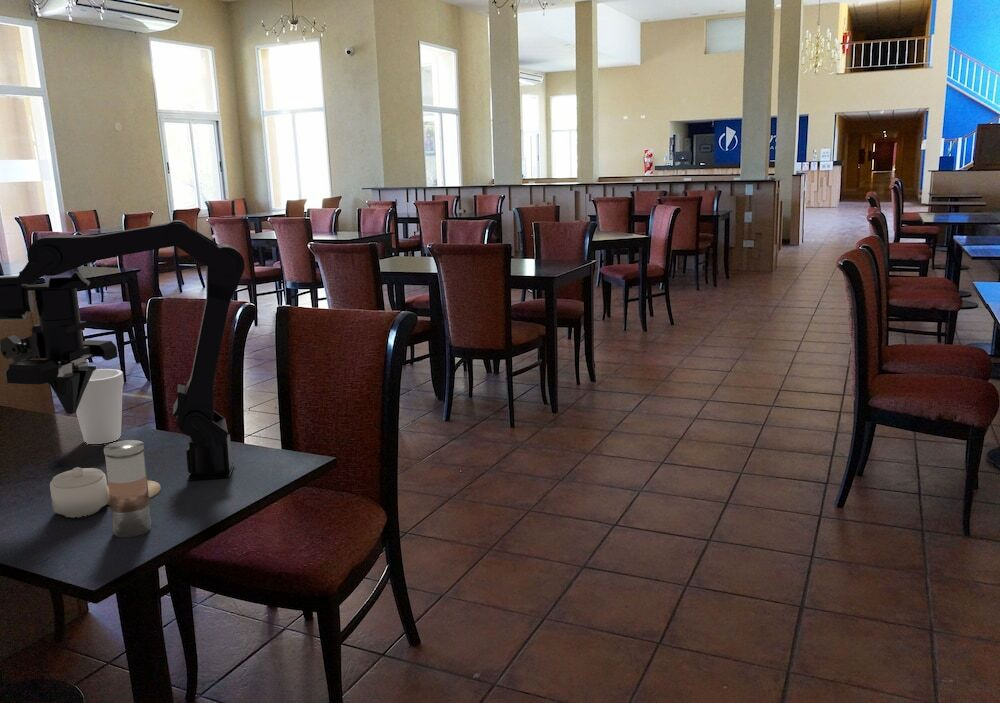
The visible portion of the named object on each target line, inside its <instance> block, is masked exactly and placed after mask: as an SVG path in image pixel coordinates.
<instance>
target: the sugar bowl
mask: <svg viewBox="0 0 1000 703" xmlns="http://www.w3.org/2000/svg"><path fill="white" fill-rule="evenodd" d="M107 486H108V480H107V474H105V472H103V470H102V469H99V468H96V467H89V468H87V467H86V468H85V467H84V468H82V467H79V466H76V467H73V468H72V469H70V470H67V471H64V472H61V473H58V474H56V475H55V476H54V477H53V478H52V480H51V481H50V483H49V489H50V490H49V491H50V497H51V504H52V510H53V512H54V513H55V514H58V515H63V516H64V517H65V518H69V517H70V518H73V519H74V518H75V517H77V518H83V517H82V516H84V517H88V516H91V515H94V514H96V513H97V512H99V511H100V510H101V508H103V507H105V506H106V504H107V503H108V501H109V498H108V489H107ZM87 515H88V516H87ZM75 519H76V518H75Z"/></svg>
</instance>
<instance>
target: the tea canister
mask: <svg viewBox="0 0 1000 703" xmlns="http://www.w3.org/2000/svg"><path fill="white" fill-rule="evenodd" d="M103 456H104V457H105V465H106V481H107V486H108V489H109V498H110V506H109V507H110V510H111V511H110V512H111V520H112V528H113V535H114V536H115V535H116V537H118V538H133V537H138V535H139V536H141V534H142V535H144V534H146V533H149V531H151V529H152V527H151V526H152V518H151V509H150V499H149V493H148V483H147V480H148V474H147V469H146V461H145V460H146V458H145V443H144V442H143V441H141V440H136V439H128V440H118V441H116V442H113V443H109V444H105V446H103Z"/></svg>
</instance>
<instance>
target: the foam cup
mask: <svg viewBox="0 0 1000 703" xmlns="http://www.w3.org/2000/svg"><path fill="white" fill-rule="evenodd" d="M124 380H125V379H124V372H123V371H122V370H121V369H115V368H113V369H112V368H103V369H102V368H100V369H99V368H96V370H94V371H93V373H92V375H91V377H90V379H89V382H88V384H87V386H86V388H85V390H84V393H83V395H82V398H81V400H80V403H79V405H78V408H77V410H76V412H75V413H76V416H77V420H78V424H79V427H80V428H79V429H80V431H81V434H82V439H83V441H84V443H85V442H86V443H87V444H86V443H85V444H86V445H88V444H102V443H108V442H113V441H116V440H118V439H119V438H120V436H121V435H122V414H123V412H122V411H123V390H124V389H123V386H124V384H125V382H124ZM121 437H122V436H121ZM120 439H121V438H120ZM120 439H119V440H120ZM119 440H118V441H119ZM116 442H117V441H116ZM113 443H114V442H113Z"/></svg>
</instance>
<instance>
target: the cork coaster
mask: <svg viewBox="0 0 1000 703" xmlns="http://www.w3.org/2000/svg"><path fill="white" fill-rule="evenodd" d="M147 483H148V493H149V500H150V499H151V498H154V497H155V496H157V495H158V494H159V493H160V492H161V490H162V488H161V484H160V483H159V482H157V481H154V480H148V479H147ZM107 489H108V485H107ZM108 498H109V489H108ZM106 505H109V507H110V498H109V501H108V503H107V504H106ZM106 505H105V506H106Z"/></svg>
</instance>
